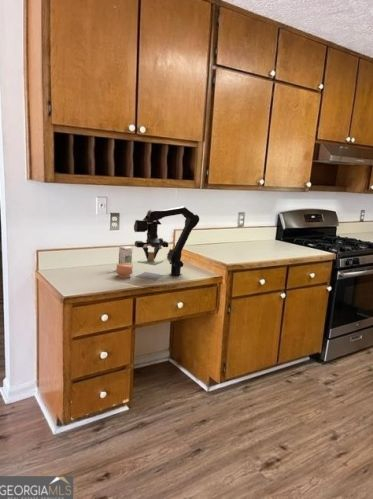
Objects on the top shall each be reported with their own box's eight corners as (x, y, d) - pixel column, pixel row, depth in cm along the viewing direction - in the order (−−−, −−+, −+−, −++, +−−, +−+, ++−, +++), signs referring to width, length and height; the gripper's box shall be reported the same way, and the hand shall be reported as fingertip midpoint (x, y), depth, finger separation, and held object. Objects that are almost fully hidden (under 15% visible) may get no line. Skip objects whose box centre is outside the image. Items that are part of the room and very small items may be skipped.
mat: (145, 272, 228) (145, 271, 228) (164, 276, 223) (164, 275, 223) (134, 277, 216) (134, 276, 216) (154, 281, 211) (155, 280, 211)
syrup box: (125, 268, 235) (126, 245, 232) (131, 270, 232) (132, 247, 229) (118, 269, 231) (118, 246, 228) (124, 271, 227) (125, 248, 224)
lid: (146, 258, 225) (147, 249, 224) (163, 261, 221) (163, 252, 220) (137, 262, 215) (138, 252, 213) (154, 265, 211) (155, 255, 210)
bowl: (121, 274, 221) (121, 262, 220) (134, 276, 218) (135, 264, 217) (113, 277, 213) (113, 265, 212) (126, 280, 210) (127, 268, 208)
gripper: (140, 234, 203) (138, 262, 206) (172, 234, 211) (170, 261, 214) (134, 231, 213) (133, 257, 216) (165, 231, 221) (164, 257, 224)
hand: (150, 258), depth 217 cm, fingers closed on lid, 4 cm apart
